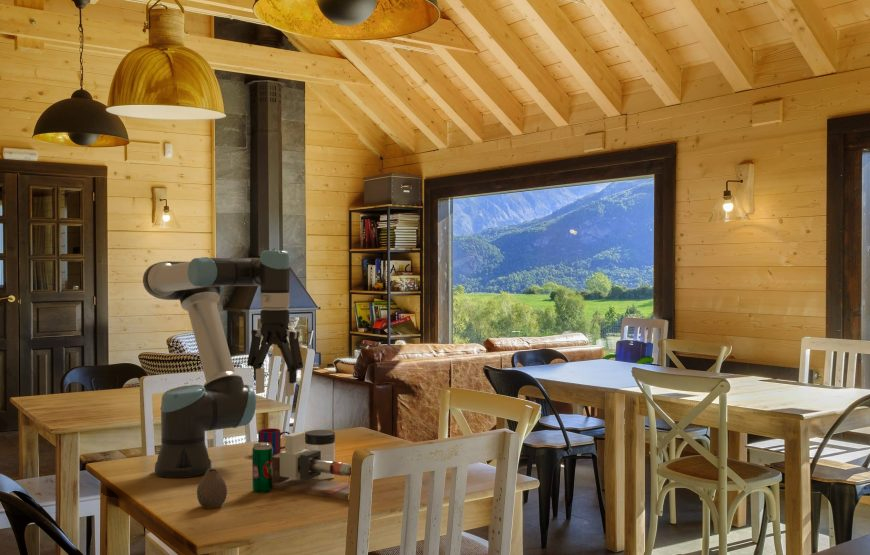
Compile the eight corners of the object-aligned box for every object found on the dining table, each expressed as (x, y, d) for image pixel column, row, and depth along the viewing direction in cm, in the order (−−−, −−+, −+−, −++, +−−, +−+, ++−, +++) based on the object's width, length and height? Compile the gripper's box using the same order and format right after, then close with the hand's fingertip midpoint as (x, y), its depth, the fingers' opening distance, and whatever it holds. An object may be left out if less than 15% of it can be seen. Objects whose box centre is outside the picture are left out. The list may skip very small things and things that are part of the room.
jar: (311, 481, 226) (311, 436, 225) (298, 475, 232) (298, 431, 232) (341, 477, 230) (341, 433, 230) (328, 471, 237) (328, 428, 237)
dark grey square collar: (300, 479, 217) (300, 454, 217) (314, 473, 222) (314, 450, 222) (306, 480, 216) (306, 455, 216) (320, 474, 221) (320, 450, 221)
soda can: (250, 489, 218) (250, 442, 218) (270, 487, 220) (270, 441, 220) (254, 494, 213) (254, 446, 213) (274, 492, 215) (274, 445, 215)
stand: (265, 487, 219) (265, 458, 219) (289, 479, 228) (289, 451, 228) (350, 500, 208) (350, 469, 208) (372, 490, 217) (372, 461, 216)
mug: (260, 450, 264) (260, 428, 264) (292, 450, 264) (292, 428, 264) (256, 454, 257) (256, 432, 257) (289, 454, 258) (289, 432, 257)
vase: (199, 512, 198) (199, 474, 197) (195, 504, 204) (195, 468, 204) (229, 509, 200) (229, 471, 200) (224, 501, 207) (224, 465, 207)
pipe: (277, 468, 222) (277, 456, 222) (284, 465, 225) (284, 453, 225) (354, 478, 211) (354, 466, 211) (361, 476, 214) (361, 463, 214)
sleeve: (279, 476, 220) (279, 435, 220) (294, 471, 225) (294, 431, 225) (295, 478, 217) (295, 437, 217) (309, 473, 223) (309, 432, 223)
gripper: (233, 308, 225) (233, 393, 226) (300, 310, 215) (300, 399, 216) (251, 307, 232) (251, 389, 232) (317, 309, 222) (317, 395, 223)
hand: (274, 394), depth 224 cm, fingers open, 9 cm apart
